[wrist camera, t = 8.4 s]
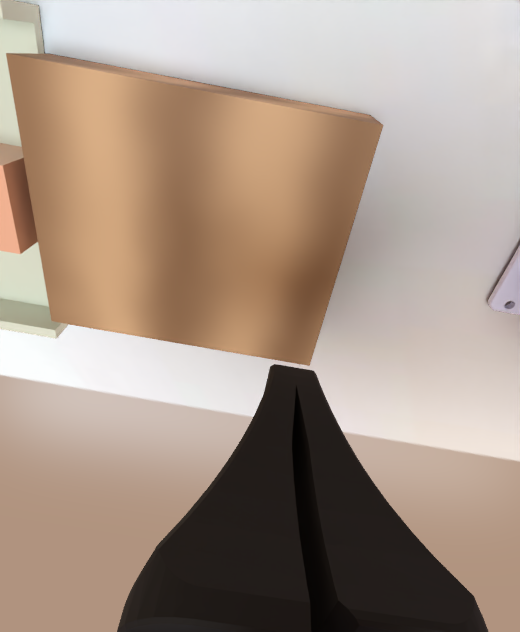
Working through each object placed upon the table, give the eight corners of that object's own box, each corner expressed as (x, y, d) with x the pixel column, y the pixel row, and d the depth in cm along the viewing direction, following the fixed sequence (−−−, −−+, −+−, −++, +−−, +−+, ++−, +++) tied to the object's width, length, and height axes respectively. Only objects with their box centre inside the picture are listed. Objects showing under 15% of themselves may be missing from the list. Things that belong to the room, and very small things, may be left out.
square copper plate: (370, 115, 17) (383, 125, 15) (307, 333, 24) (309, 365, 21) (49, 54, 17) (5, 53, 14) (77, 293, 23) (51, 321, 21)
